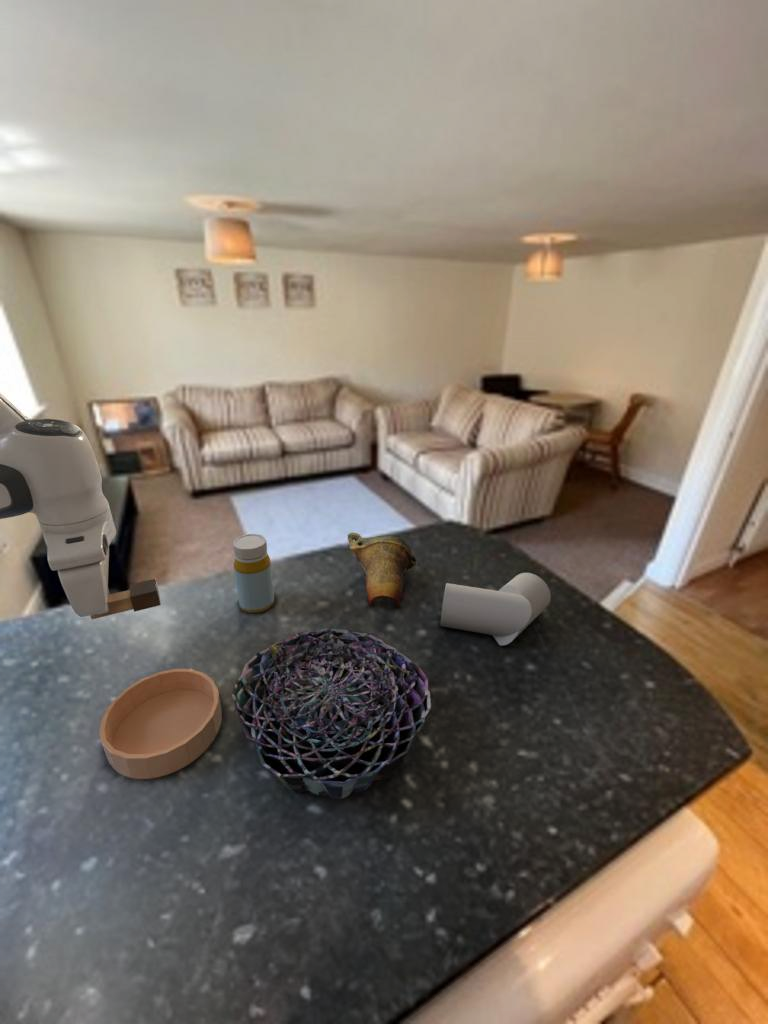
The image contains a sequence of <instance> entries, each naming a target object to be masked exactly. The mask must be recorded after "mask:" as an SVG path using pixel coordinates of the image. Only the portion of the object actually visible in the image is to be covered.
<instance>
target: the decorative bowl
mask: <svg viewBox="0 0 768 1024" xmlns="http://www.w3.org/2000/svg"><path fill="white" fill-rule="evenodd" d="M231 697H232V701H233V702H234V704H235V709H234V711H235V714H237V716H238V718H239V719H240V720H239V723H240V726H241V727H242V730H243V732H244V734H245V737H246V739H247V740H250V741H251V742H253V743H254V744H255V750H256V754H257V756H258V759H259V761H260V764H261V766H263V767H264V768H266V769H268V770H269V771H270V772H272V773H273V774H274V775H275V776H276V778H278V780H279V781H280V782H281V783H282V784H283V785H284V786H285V788H286V789H288V790H289V791H291V792H292V793H294V794H299V793H306V792H308V791H309V793H311V794H312V795H316V796H328V797H330V798H331V799H341V800H342V799H345V798H349V796H350V795H351V794H352V793H354V794H357V793H362V792H365V791H366V790H367V789H368V788H369V787H370V786H371V785H372V784H373V782H381V781H383V780H384V779H386V778H388V777H389V775H390V774H391V772H392V770H394V768H395V766H396V765H397V763H398V762H399V760H400V759H401V757H402V756H404V755H406V754H407V753H409V750H410V749H411V747H412V745H413V742H414V741H415V738H416V735H417V734H418V733H419V732H420V730H421V729H422V728H423V727H424V726H425V718H426V716H427V715H428V713H429V712H430V710H431V708H432V704H431V703H432V702H431V692H430V689H429V678H428V676H427V675H426V674H425V673H424V671H423V670H422V668H421V667H420V666H418V665H417V664H415V662H412V660H411V659H410V658H408V657H407V656H406V655H404V653H402V652H400V651H399V650H398V649H397V648H395V647H393V646H391V645H389V644H387V643H385V642H384V641H383V640H382V639H381V638H379V637H376V636H374V635H372V634H370V633H367V632H357V631H353V630H351V629H340V628H339V629H338V628H330V627H326V628H322V629H317V630H306V631H300V632H297V633H296V634H294V635H291V636H288V637H286V638H283V639H281V640H278V641H276V642H273V644H272V645H270V646H269V647H267V648H266V649H263V650H260V651H259V652H257V653H256V654H255V655H253V656H252V657H251V658H250V659H249V660H248V661H247V662H246V663H245V664H244V666H243V669H242V672H241V675H240V676H239V677H238V678H237V679H236V681H235V684H234V688H233V691H232V694H231ZM350 773H355V774H350Z"/></svg>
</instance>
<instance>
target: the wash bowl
mask: <svg viewBox="0 0 768 1024" xmlns="http://www.w3.org/2000/svg"><path fill="white" fill-rule="evenodd" d="M222 713H223V712H222V704H221V698H220V694H219V689H218V687H217V685H216V683H215V682H214V679H213V678H211V677H210V676H209V675H207V674H206V673H205V672H202V671H199V670H195V669H192V668H172V669H167V670H163V671H158V672H155V673H153V674H150V675H148V676H146V677H143V678H141V679H138V680H137V681H136V682H134V683H132V684H131V685H129V686H128V687H126V688H125V689H124V690H123V691H121V692H120V694H118V696H116V697H115V699H113V700H112V701H111V703H110V704H109V705H108V707H107V708H106V710H105V712H104V713H103V715H102V717H101V722H100V725H99V729H98V733H99V737H100V738H99V739H100V742H101V745H102V748H103V751H104V753H105V757H106V759H107V762H108V764H109V765H110V766H111V767H112V769H113V770H114V771H116V772H117V773H118V774H120V775H122V776H124V777H126V778H131V779H135V780H148V779H149V780H151V779H156V778H160V777H164V776H168V775H170V774H173V773H176V772H177V771H179V770H181V769H183V768H185V767H186V766H188V765H190V764H192V763H193V762H194V761H195V760H197V759H198V758H199V757H201V755H203V753H205V752H206V750H207V749H208V748H209V747H210V746H211V745H212V743H213V742H214V740H215V738H216V737H217V736H218V733H219V731H220V728H221V725H222V721H223V720H222V719H223V716H222Z"/></svg>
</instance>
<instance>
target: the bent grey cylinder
mask: <svg viewBox="0 0 768 1024" xmlns="http://www.w3.org/2000/svg"><path fill="white" fill-rule="evenodd" d="M551 599H552V595H551V591H550V588H549V586H548V584H547V583H546V582H545V581H544V580H543V579H542V578H541V577H540V576H538V575H536V574H534V573H531V572H521V573H519V574H516V575H515V576H514V577H513V578H512V579H510V581H509V582H507V583H506V584H505V585H503V586H502V587H501V588H499V589H498V590H495V589H488V588H482V587H475V586H468V585H461V584H455V583H449V582H446V583H445V588H444V593H443V599H442V605H441V614H440V615H441V616H440V627H444V628H449V629H454V630H461V631H465V632H471V633H472V632H473V633H477V634H483V635H489V636H492V637H493V638H494V640H495V641H496V642H497V644H498V646H507V645H509V644H511V643H512V642H513V641H514V640H515V639H516V638H517V637H518V636H520V634H521V633H522V632H523V631H524V630H525V629H526V628H527V627H528V626H529V625H530V624H531V623H532V622H533V621H534V620H535V619H536V618H537V617H538V616H539V615H540V614H542V612H543V611H545V609H546V608H548V606H549V605H550V604H551Z"/></svg>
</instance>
